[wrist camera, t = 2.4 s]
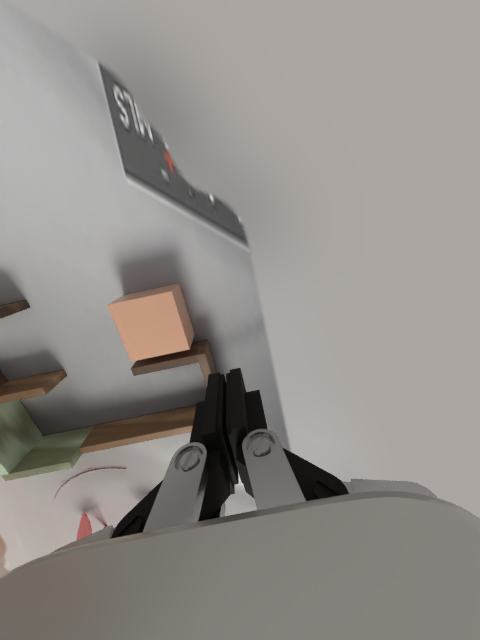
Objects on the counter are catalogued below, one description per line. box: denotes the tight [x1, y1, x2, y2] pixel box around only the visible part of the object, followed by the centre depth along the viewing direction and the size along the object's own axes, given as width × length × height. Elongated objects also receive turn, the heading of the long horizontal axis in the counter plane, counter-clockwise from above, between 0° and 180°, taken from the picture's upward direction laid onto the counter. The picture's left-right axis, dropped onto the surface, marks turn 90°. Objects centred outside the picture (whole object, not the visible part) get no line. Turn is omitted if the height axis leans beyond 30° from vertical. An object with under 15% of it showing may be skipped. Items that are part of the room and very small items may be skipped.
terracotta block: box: [108, 283, 195, 362], centre depth 28 cm, size 7×7×4 cm
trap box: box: [0, 300, 217, 481], centre depth 29 cm, size 21×29×6 cm
